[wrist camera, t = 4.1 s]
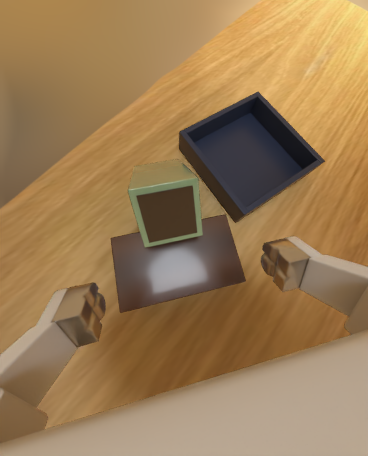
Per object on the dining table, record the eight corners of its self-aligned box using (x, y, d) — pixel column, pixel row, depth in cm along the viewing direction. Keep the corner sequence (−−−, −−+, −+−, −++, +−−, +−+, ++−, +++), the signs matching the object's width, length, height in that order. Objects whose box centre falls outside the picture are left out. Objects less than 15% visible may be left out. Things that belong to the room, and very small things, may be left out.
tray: (249, 111, 28) (258, 91, 25) (307, 174, 25) (325, 161, 22) (178, 148, 25) (179, 131, 22) (235, 223, 23) (244, 215, 20)
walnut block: (232, 280, 21) (246, 281, 17) (131, 305, 19) (119, 313, 15) (216, 224, 22) (225, 214, 18) (122, 244, 21) (110, 237, 17)
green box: (194, 246, 22) (211, 224, 12) (153, 255, 21) (135, 239, 11) (177, 175, 24) (179, 110, 14) (139, 182, 23) (115, 118, 14)
